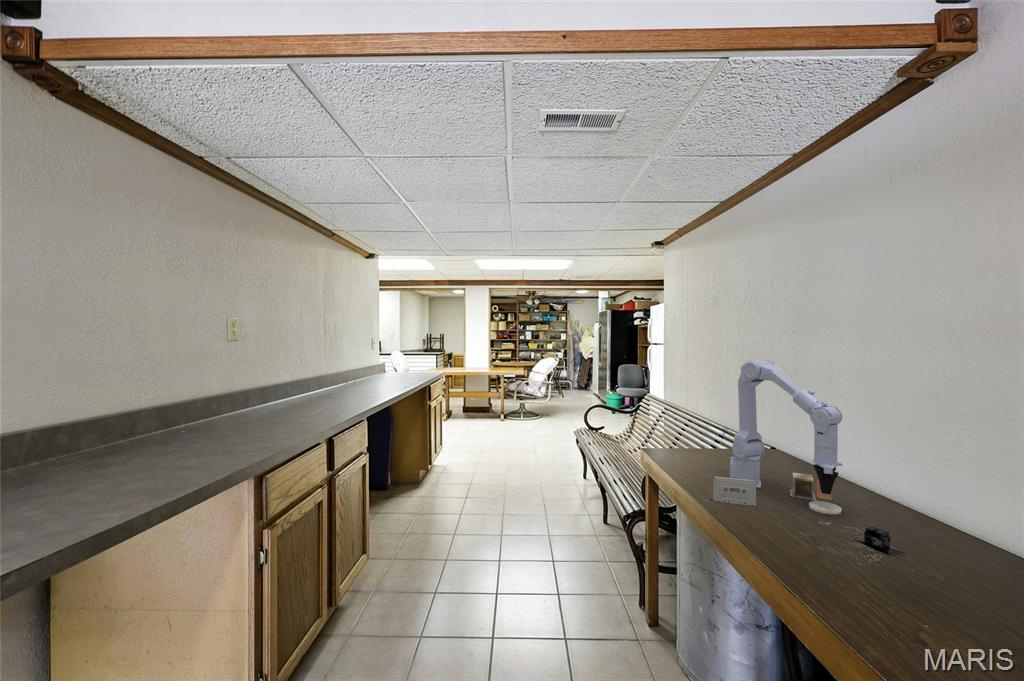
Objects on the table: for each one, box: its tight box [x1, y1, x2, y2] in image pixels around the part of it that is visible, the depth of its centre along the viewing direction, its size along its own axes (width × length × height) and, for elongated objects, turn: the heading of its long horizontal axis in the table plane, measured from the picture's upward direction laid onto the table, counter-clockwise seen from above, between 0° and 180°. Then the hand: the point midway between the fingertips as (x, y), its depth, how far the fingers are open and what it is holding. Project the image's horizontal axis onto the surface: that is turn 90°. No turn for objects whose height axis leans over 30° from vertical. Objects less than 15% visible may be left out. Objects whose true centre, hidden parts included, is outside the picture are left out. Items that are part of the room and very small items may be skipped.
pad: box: [789, 489, 817, 501], centre depth 145 cm, size 7×7×1 cm
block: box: [816, 477, 833, 501], centre depth 133 cm, size 3×3×5 cm
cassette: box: [712, 475, 757, 507], centre depth 138 cm, size 12×2×8 cm, turn 70°
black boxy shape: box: [854, 525, 906, 557], centre depth 110 cm, size 12×7×5 cm, turn 20°
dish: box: [808, 500, 842, 516], centre depth 133 cm, size 8×8×1 cm
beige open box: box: [791, 472, 815, 499], centre depth 145 cm, size 5×6×6 cm
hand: (825, 491), depth 133 cm, fingers closed on block, 3 cm apart
